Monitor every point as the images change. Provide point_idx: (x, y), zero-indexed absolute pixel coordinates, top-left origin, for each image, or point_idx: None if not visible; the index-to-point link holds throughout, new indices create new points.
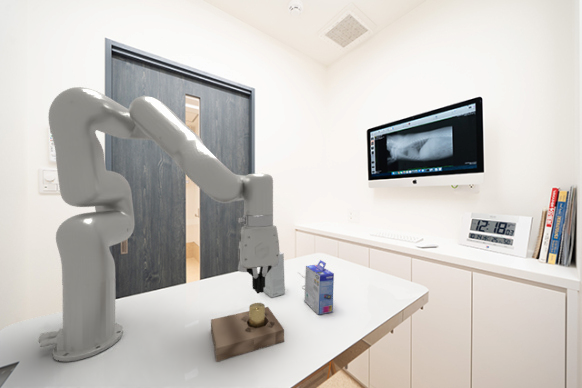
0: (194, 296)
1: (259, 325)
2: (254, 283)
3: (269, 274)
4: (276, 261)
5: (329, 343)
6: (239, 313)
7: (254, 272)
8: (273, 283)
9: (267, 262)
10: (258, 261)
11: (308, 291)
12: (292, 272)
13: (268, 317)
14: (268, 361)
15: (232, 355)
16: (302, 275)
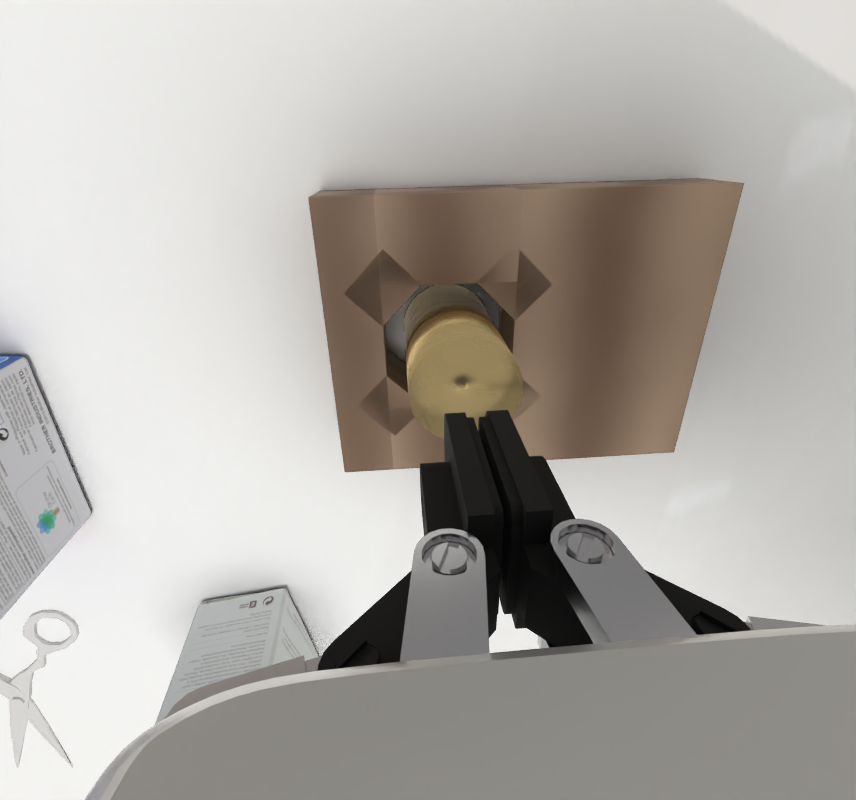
0: None
1: (452, 302)
2: (557, 490)
3: None
4: (187, 755)
5: (14, 37)
6: None
7: (632, 587)
8: (254, 662)
9: (468, 734)
10: (768, 783)
11: (17, 533)
12: (105, 769)
13: (373, 366)
14: (457, 54)
15: (624, 181)
16: (47, 736)
